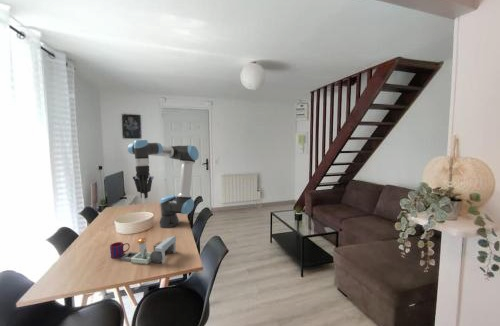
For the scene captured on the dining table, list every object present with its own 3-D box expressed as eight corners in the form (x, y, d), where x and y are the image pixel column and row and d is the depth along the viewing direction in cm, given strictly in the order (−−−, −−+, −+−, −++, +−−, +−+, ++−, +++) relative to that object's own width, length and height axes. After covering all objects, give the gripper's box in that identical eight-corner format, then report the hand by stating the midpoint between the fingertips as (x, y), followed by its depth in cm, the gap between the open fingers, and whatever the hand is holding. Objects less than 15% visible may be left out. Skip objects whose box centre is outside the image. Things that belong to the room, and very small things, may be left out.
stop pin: (141, 257, 132) (138, 238, 130) (149, 256, 133) (146, 237, 131) (139, 261, 128) (136, 241, 126) (147, 260, 128) (144, 240, 127)
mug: (111, 253, 138) (111, 243, 137) (130, 250, 142) (129, 240, 141) (109, 259, 132) (108, 248, 131) (129, 255, 136) (128, 244, 135)
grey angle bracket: (164, 250, 141) (163, 234, 140) (176, 251, 140) (175, 235, 139) (150, 262, 127) (149, 245, 126) (163, 264, 126) (162, 246, 125)
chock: (159, 248, 144) (159, 241, 144) (166, 249, 143) (165, 241, 143) (153, 253, 138) (153, 245, 138) (160, 254, 137) (159, 246, 137)
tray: (140, 255, 135) (140, 251, 135) (156, 257, 134) (155, 253, 133) (131, 262, 128) (131, 258, 127) (147, 264, 126) (147, 260, 126)
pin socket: (129, 254, 137) (129, 251, 137) (140, 255, 136) (139, 252, 136) (121, 260, 131) (120, 257, 130) (132, 261, 129) (131, 258, 129)
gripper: (128, 165, 137) (131, 204, 139) (148, 166, 134) (150, 205, 137) (136, 164, 144) (139, 201, 146) (155, 164, 142) (157, 201, 144)
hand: (144, 203), depth 142 cm, fingers closed
